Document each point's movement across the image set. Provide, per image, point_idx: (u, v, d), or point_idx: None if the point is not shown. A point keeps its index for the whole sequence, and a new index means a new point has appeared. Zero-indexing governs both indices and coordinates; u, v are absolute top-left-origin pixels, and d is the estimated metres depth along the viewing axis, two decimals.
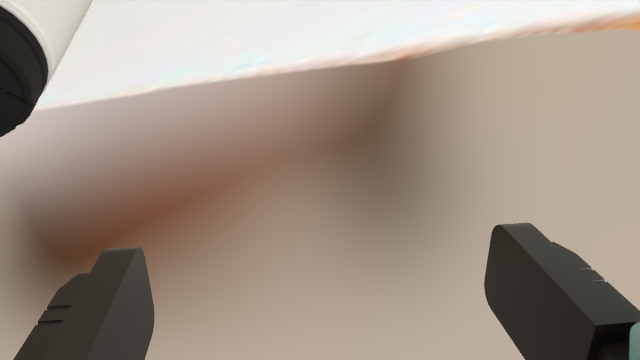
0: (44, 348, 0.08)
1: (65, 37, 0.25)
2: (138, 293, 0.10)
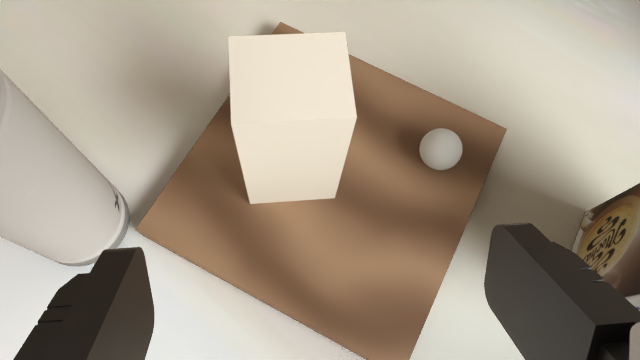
0: (44, 348, 0.08)
1: None
2: (138, 294, 0.10)
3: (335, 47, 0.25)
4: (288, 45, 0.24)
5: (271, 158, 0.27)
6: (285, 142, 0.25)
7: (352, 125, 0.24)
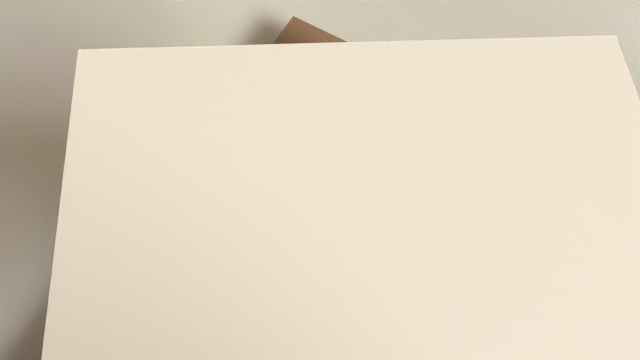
0: None
1: None
2: None
3: (589, 107, 0.05)
4: (369, 96, 0.05)
5: None
6: None
7: None
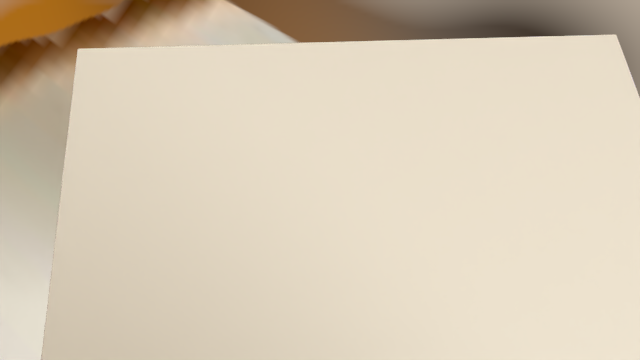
0: None
1: None
2: None
3: (589, 107, 0.05)
4: (369, 96, 0.05)
5: None
6: None
7: None
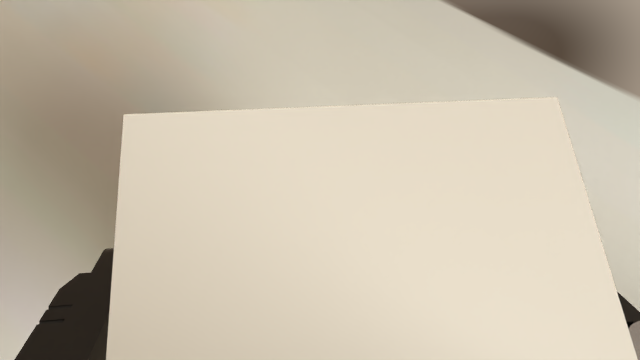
0: (46, 347, 0.08)
1: None
2: None
3: (532, 159, 0.07)
4: (355, 151, 0.06)
5: None
6: None
7: None
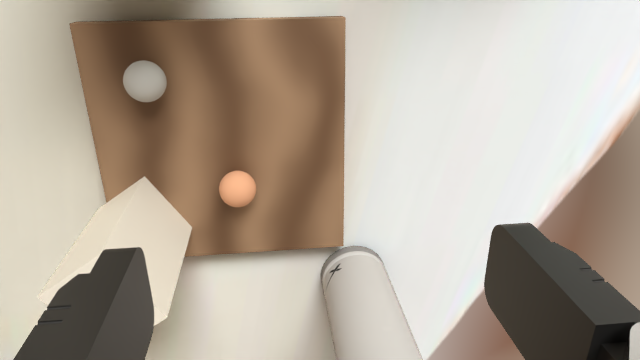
0: (44, 348, 0.08)
1: (420, 358, 0.34)
2: (138, 293, 0.10)
3: None
4: None
5: (161, 263, 0.34)
6: (147, 270, 0.32)
7: (105, 248, 0.30)
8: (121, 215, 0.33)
